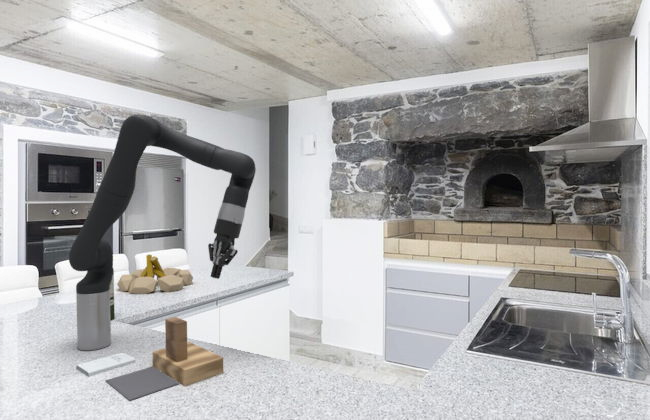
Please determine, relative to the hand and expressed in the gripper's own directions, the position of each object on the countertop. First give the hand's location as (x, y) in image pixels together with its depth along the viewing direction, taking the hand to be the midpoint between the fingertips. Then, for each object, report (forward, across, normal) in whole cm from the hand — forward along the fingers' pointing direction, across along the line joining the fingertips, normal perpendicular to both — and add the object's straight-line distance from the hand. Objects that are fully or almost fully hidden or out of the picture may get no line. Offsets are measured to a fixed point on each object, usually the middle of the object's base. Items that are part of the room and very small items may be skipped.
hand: (214, 277), depth 125 cm
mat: (+28, +4, -16) cm, 33 cm away
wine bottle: (+28, -61, -4) cm, 67 cm away
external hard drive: (+30, -14, -18) cm, 38 cm away
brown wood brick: (+22, +4, -8) cm, 24 cm away
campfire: (+19, -104, +34) cm, 111 cm away
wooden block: (+25, +5, -4) cm, 26 cm away
